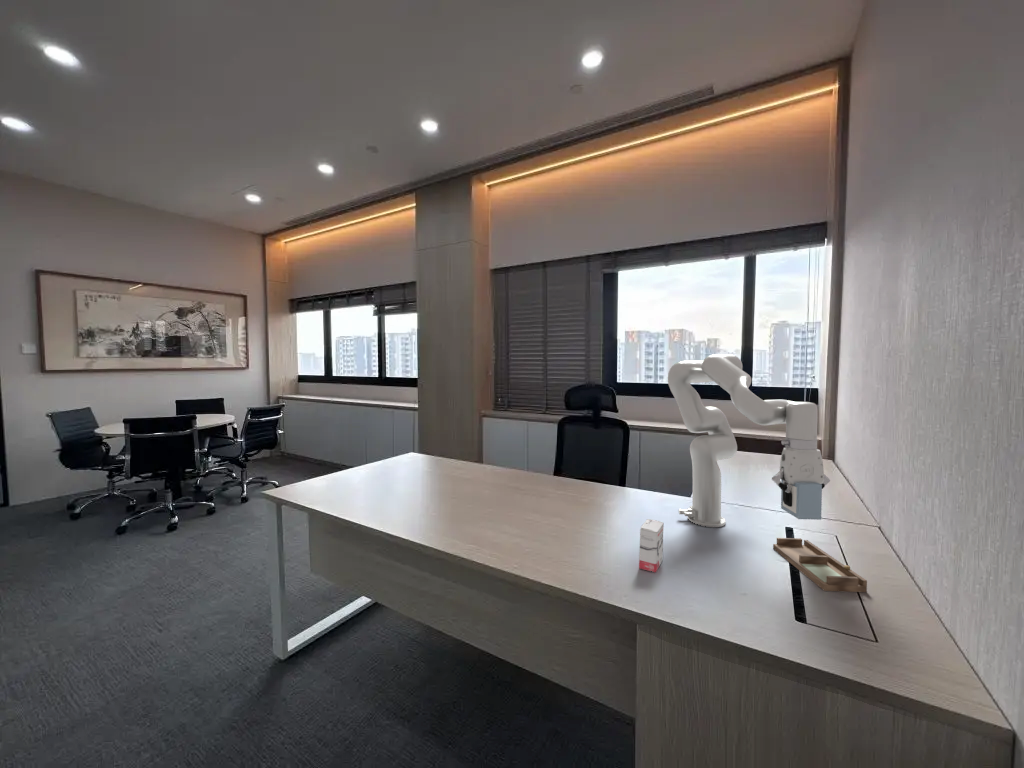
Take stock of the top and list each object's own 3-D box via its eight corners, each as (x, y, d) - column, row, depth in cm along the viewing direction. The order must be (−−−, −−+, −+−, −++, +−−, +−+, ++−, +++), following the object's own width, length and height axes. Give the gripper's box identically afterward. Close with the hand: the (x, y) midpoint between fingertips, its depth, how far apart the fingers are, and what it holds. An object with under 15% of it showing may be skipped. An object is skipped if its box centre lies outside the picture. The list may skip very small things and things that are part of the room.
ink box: (657, 573, 114) (657, 531, 114) (638, 569, 117) (638, 527, 116) (663, 560, 122) (664, 521, 121) (646, 556, 124) (646, 517, 124)
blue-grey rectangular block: (798, 519, 117) (798, 484, 117) (780, 508, 126) (781, 475, 126) (821, 519, 116) (821, 484, 116) (801, 508, 125) (802, 476, 125)
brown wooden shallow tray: (824, 590, 105) (824, 576, 104) (773, 548, 128) (773, 537, 128) (867, 592, 104) (867, 578, 104) (807, 549, 128) (807, 538, 127)
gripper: (776, 446, 117) (776, 509, 118) (841, 447, 116) (840, 510, 117) (763, 441, 125) (762, 500, 126) (824, 442, 123) (823, 501, 124)
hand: (800, 504), depth 121 cm, fingers closed on blue-grey rectangular block, 6 cm apart
